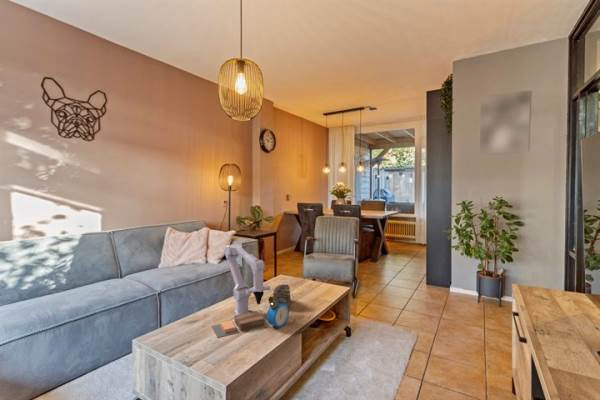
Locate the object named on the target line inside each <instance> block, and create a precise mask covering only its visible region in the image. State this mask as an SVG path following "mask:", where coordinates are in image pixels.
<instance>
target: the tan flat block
mask: <svg viewBox="0 0 600 400" xmlns="http://www.w3.org/2000/svg"><path fill="white" fill-rule="evenodd" d="M234 324H235V326H236V327H237V329H238V330H239V332H243V331H248V330H252V329H256V328H260V327H264V326H265V318H264V316H262V315H261V313H260V312H259V311H258V310H254V311H251V312H250V311H249V313H245V314H240V315H237V314H236V315H234Z"/></svg>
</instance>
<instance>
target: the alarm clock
mask: <svg viewBox="0 0 600 400" xmlns="http://www.w3.org/2000/svg"><path fill="white" fill-rule="evenodd" d="M278 301H280V302H278ZM278 301H273V302H271V304H270V303H269V304H270V305H269V307H268V310H267V313H266V320H267V322H268V324H269V325H271V326H274V327H275V328H276V329H279V328H283V326H285V325H286V323H287V322H288V319H289V316H290V309H289V306H287V305H286V304H284V303H286V300H285V299H283V298H280V299H278ZM282 302H283V303H282Z"/></svg>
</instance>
